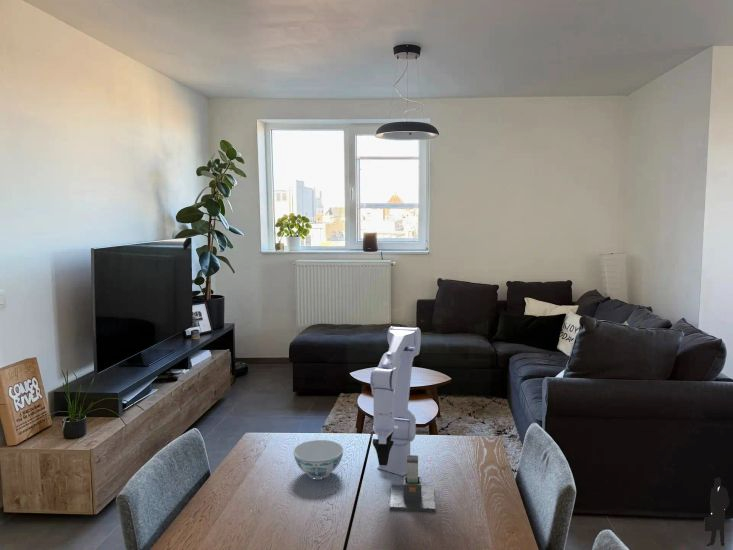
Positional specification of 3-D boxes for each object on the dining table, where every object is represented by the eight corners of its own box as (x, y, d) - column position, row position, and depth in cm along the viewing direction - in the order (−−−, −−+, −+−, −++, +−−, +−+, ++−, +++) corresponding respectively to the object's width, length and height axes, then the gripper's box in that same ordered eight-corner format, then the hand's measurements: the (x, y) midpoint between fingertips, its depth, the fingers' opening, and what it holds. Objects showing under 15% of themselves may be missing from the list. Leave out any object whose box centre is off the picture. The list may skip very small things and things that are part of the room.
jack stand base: (389, 510, 140) (389, 490, 139) (391, 488, 152) (391, 469, 151) (435, 512, 139) (435, 492, 138) (433, 489, 150) (433, 471, 150)
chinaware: (284, 481, 156) (284, 455, 155) (308, 460, 170) (308, 437, 169) (330, 490, 151) (329, 464, 150) (351, 468, 164) (351, 444, 164)
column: (406, 487, 143) (406, 459, 143) (407, 482, 146) (407, 455, 146) (418, 488, 143) (418, 460, 142) (417, 482, 146) (418, 455, 145)
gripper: (397, 421, 138) (397, 471, 139) (399, 402, 153) (399, 448, 154) (370, 420, 139) (371, 470, 140) (374, 402, 153) (374, 447, 154)
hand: (384, 458), depth 147 cm, fingers open, 7 cm apart
